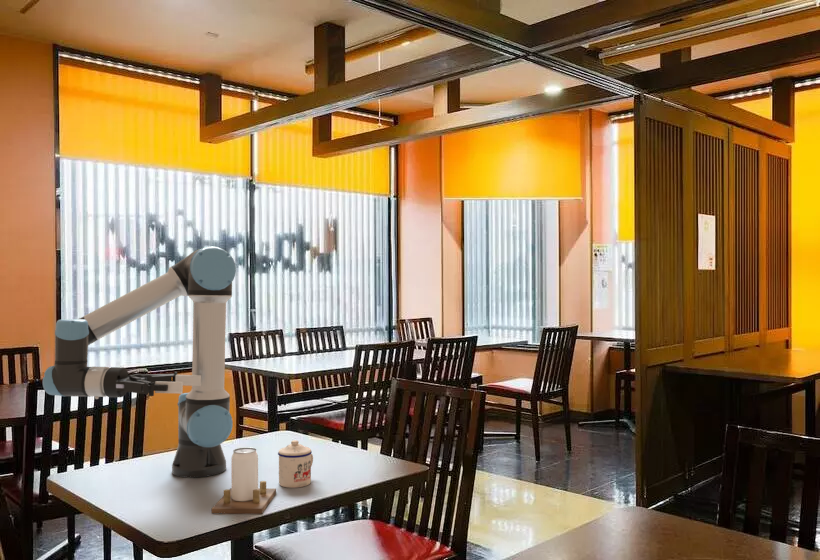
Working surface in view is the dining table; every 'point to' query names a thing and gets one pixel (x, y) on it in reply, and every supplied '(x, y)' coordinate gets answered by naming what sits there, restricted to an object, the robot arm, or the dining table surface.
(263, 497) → the pin tray
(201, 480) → the dining table surface
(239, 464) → the can
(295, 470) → the teacup with lid
